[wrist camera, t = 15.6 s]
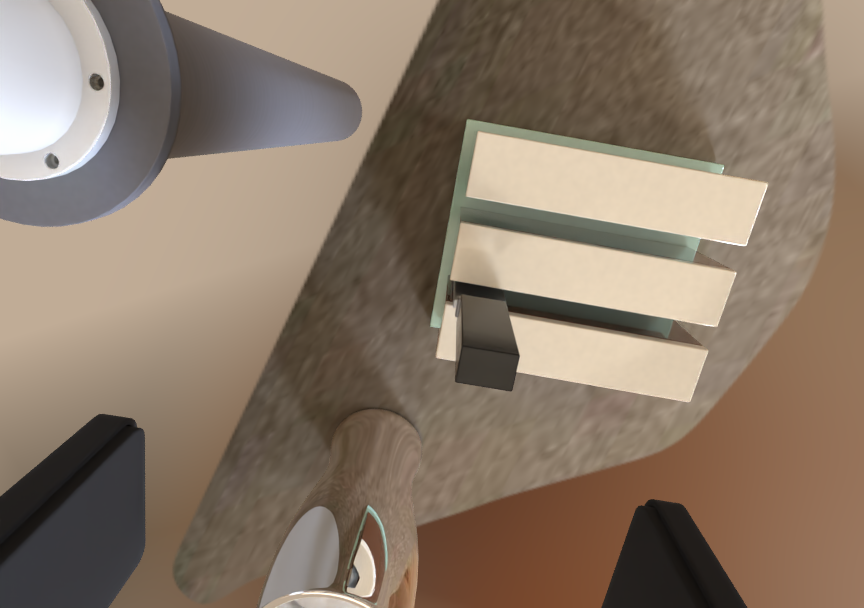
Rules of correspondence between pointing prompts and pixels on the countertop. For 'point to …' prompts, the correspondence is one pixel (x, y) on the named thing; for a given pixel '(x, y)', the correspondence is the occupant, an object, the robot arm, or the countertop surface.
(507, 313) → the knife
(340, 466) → the beer glass
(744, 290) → the countertop surface
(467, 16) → the countertop surface
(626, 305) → the slatted panel
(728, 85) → the countertop surface
